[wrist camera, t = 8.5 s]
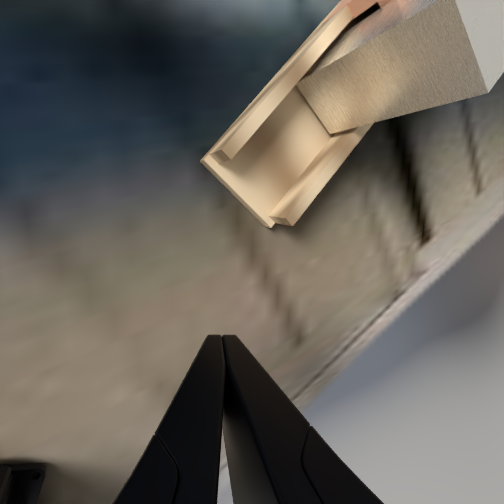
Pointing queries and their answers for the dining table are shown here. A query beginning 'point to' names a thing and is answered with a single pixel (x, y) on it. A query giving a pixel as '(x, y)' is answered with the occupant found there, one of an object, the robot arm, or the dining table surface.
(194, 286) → the dining table surface
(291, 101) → the guide channel
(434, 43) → the brushed grey block
